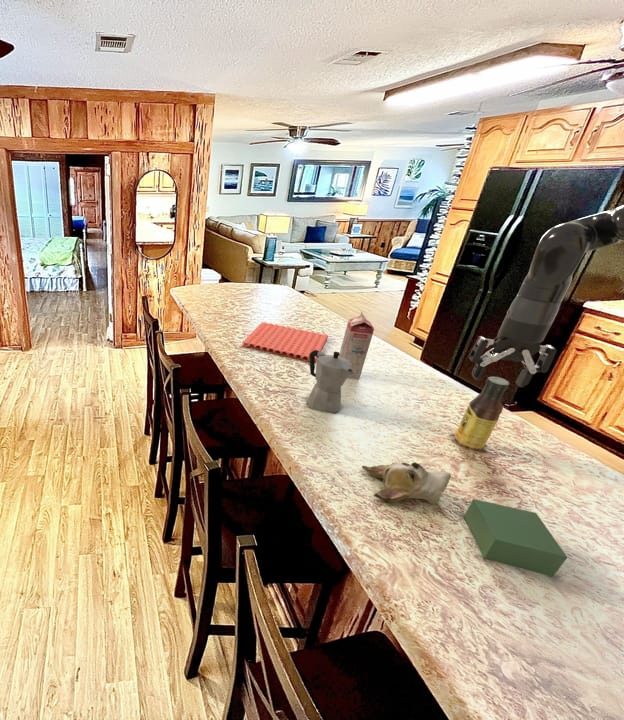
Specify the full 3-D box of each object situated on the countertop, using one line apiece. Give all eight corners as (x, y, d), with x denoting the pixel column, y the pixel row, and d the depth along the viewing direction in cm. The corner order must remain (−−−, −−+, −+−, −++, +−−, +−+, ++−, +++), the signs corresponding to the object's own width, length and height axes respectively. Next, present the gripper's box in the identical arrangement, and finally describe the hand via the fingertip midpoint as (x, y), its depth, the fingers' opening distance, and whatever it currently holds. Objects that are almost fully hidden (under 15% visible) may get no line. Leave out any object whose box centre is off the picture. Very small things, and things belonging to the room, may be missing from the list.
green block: (522, 534, 76) (536, 512, 73) (550, 580, 67) (567, 557, 64) (461, 520, 78) (473, 498, 76) (481, 562, 70) (495, 539, 67)
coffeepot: (352, 414, 113) (369, 358, 105) (328, 421, 109) (344, 364, 101) (312, 389, 125) (324, 338, 117) (290, 394, 122) (301, 342, 114)
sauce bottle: (455, 435, 104) (485, 370, 95) (484, 447, 100) (518, 380, 91) (448, 445, 100) (479, 378, 92) (478, 457, 96) (513, 389, 87)
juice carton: (338, 376, 133) (354, 316, 124) (335, 368, 139) (351, 310, 130) (359, 379, 132) (377, 319, 122) (355, 371, 137) (372, 312, 128)
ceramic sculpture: (466, 485, 75) (380, 475, 78) (453, 518, 78) (371, 507, 82) (441, 451, 84) (366, 444, 88) (430, 482, 88) (358, 474, 91)
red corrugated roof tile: (315, 363, 142) (316, 358, 141) (241, 346, 155) (242, 341, 154) (327, 339, 164) (328, 334, 163) (261, 325, 177) (262, 321, 176)
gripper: (497, 318, 83) (467, 384, 91) (581, 328, 79) (543, 395, 86) (483, 308, 90) (456, 370, 97) (559, 316, 86) (526, 380, 93)
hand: (497, 382), depth 92 cm, fingers open, 8 cm apart
